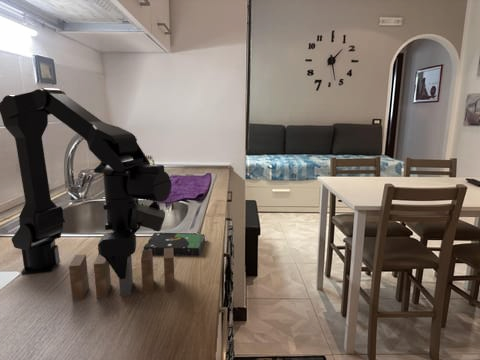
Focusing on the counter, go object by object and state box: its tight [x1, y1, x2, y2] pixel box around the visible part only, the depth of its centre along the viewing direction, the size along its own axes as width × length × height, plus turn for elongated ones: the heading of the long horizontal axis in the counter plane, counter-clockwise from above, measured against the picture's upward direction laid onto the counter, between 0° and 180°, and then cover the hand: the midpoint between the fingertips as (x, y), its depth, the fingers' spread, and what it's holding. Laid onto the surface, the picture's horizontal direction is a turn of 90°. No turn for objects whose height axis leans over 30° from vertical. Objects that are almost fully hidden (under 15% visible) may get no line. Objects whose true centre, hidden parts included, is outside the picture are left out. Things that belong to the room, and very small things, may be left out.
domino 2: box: [93, 253, 112, 299], centre depth 69 cm, size 2×5×8 cm, turn 12°
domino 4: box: [140, 249, 155, 294], centre depth 71 cm, size 2×5×8 cm, turn 12°
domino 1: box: [68, 253, 90, 302], centre depth 68 cm, size 2×5×8 cm, turn 12°
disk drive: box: [143, 232, 206, 257], centre depth 92 cm, size 10×3×15 cm
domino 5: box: [163, 248, 176, 292], centre depth 72 cm, size 2×5×8 cm, turn 12°
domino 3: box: [118, 254, 134, 297], centre depth 70 cm, size 2×5×8 cm, turn 12°
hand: (125, 267), depth 70 cm, fingers open, 9 cm apart
